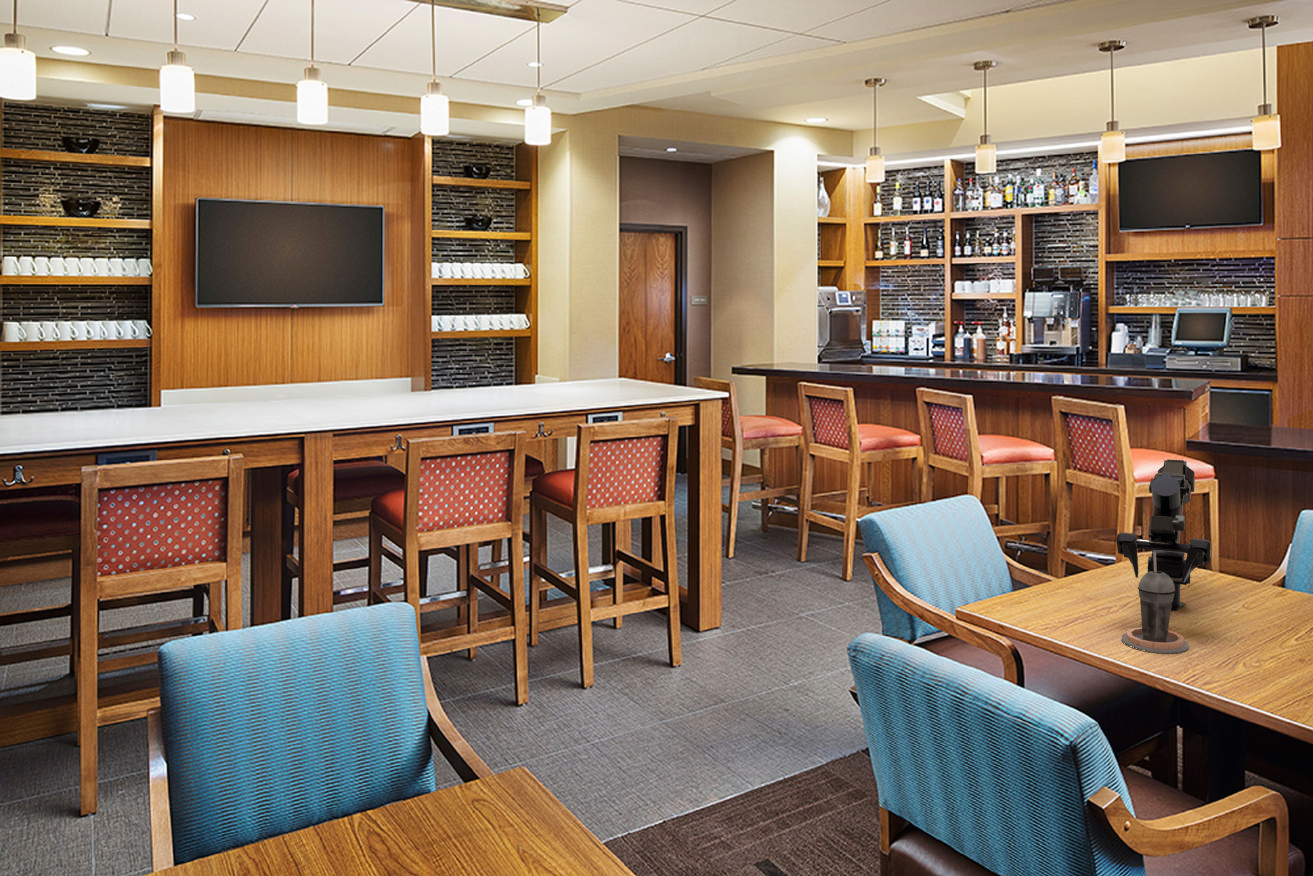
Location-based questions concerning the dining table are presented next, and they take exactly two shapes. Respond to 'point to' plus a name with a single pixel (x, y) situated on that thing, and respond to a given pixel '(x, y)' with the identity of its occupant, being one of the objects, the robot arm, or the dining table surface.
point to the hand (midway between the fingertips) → (1159, 579)
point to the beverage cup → (1155, 604)
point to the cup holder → (1172, 645)
